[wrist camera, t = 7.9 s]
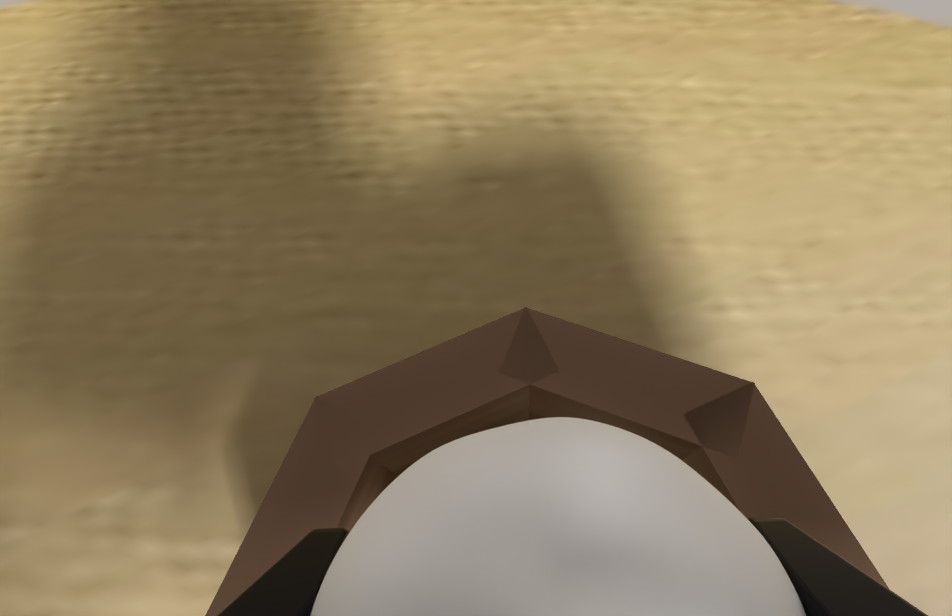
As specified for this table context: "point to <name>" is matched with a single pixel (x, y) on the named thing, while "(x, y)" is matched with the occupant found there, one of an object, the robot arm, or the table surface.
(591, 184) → the table surface
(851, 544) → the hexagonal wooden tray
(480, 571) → the milkshake
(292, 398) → the table surface
